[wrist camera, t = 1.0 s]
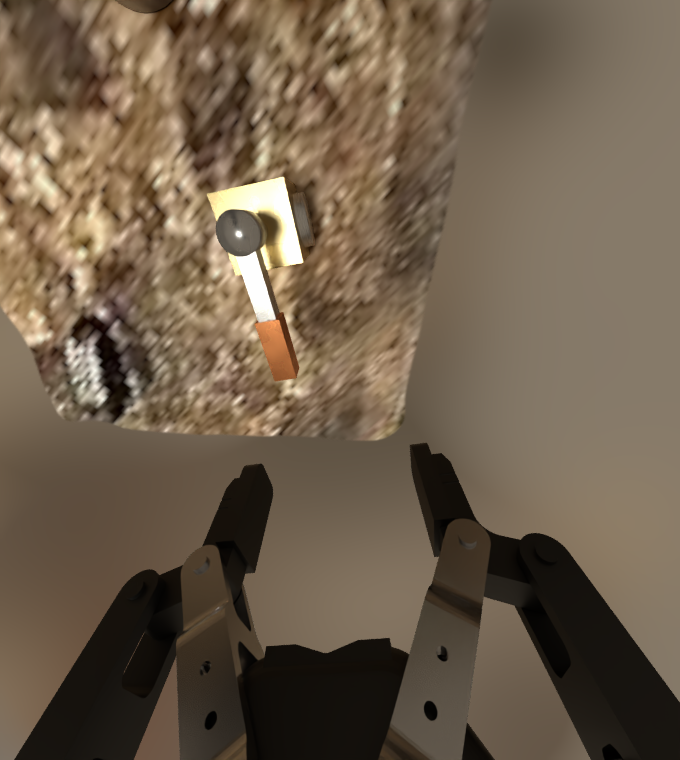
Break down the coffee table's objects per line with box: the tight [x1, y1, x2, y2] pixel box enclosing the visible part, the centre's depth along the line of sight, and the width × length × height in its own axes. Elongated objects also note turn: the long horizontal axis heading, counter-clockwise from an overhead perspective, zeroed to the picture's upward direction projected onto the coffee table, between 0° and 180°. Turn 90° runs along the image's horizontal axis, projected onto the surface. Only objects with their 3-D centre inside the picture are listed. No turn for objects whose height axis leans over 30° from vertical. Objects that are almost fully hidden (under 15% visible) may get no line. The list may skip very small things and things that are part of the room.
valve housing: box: [207, 177, 315, 276], centre depth 28 cm, size 7×9×10 cm
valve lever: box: [216, 209, 299, 381], centre depth 25 cm, size 15×3×2 cm, turn 10°
